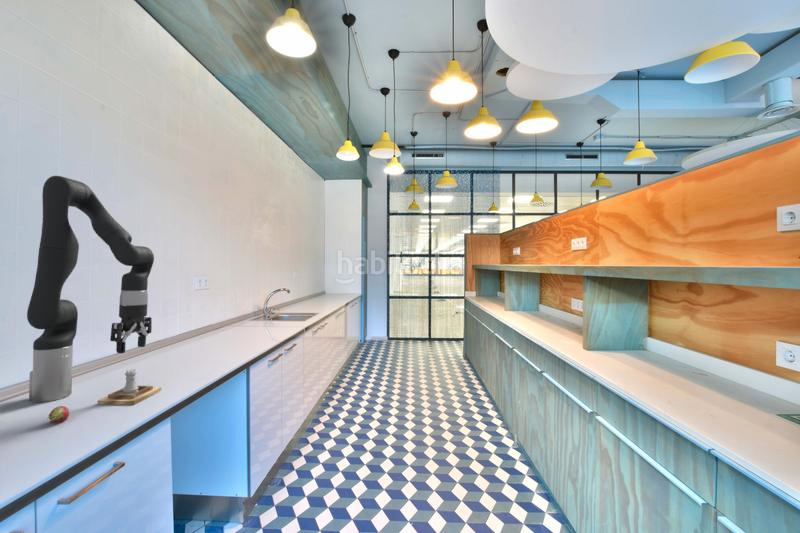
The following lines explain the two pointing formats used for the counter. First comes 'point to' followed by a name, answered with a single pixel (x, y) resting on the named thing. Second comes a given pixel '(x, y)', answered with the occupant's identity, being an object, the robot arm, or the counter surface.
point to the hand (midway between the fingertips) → (131, 349)
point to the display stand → (130, 396)
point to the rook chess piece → (130, 383)
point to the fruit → (59, 414)
